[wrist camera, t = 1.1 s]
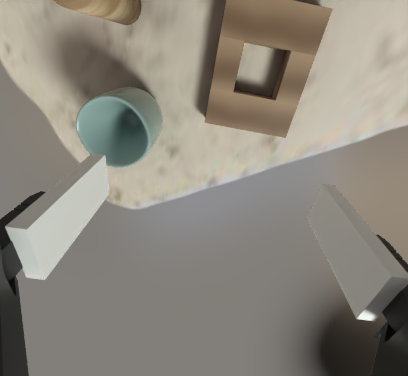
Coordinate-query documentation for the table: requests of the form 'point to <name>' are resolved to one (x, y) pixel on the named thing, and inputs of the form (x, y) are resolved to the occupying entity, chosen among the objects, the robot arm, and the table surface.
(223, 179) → the table surface
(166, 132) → the table surface
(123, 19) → the peg
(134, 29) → the table surface
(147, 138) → the cup
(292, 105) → the box with square hole
